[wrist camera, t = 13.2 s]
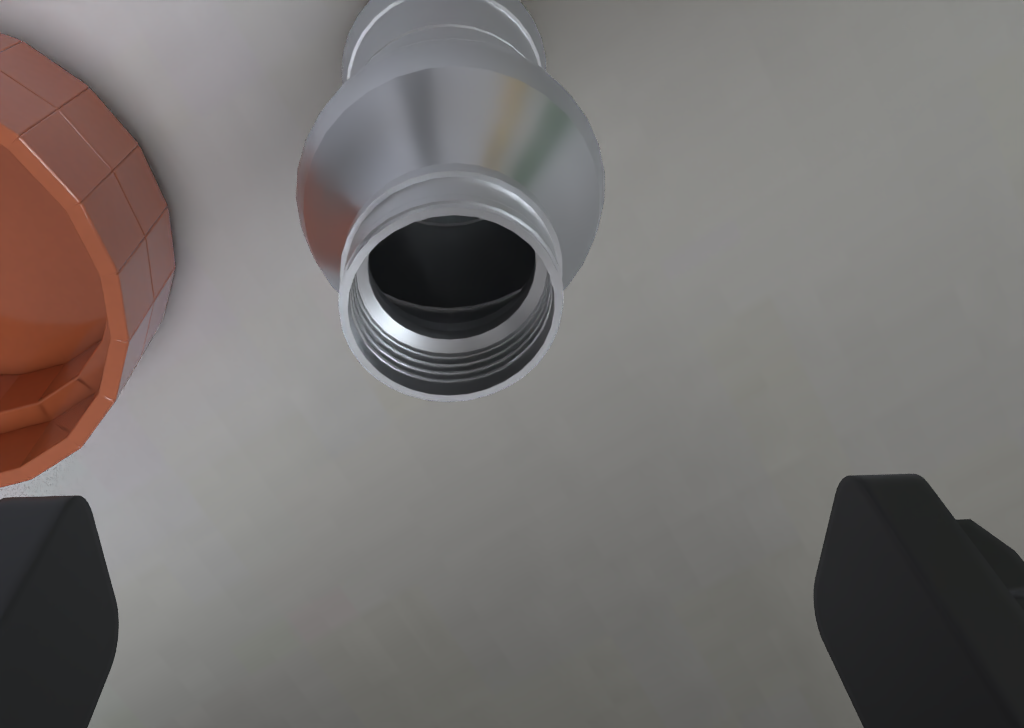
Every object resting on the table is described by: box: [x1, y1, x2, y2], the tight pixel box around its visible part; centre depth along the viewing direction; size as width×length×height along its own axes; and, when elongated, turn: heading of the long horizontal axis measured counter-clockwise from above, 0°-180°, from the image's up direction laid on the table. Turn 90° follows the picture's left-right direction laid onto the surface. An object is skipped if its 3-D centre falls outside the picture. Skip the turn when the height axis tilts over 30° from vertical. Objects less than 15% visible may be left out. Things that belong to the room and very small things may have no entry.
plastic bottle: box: [296, 0, 605, 402], centre depth 24 cm, size 6×7×20 cm
